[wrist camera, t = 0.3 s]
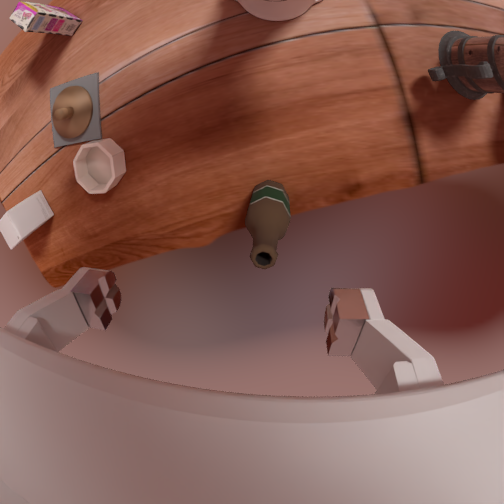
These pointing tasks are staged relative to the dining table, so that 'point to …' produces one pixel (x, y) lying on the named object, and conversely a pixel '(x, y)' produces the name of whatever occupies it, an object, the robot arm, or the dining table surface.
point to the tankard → (471, 64)
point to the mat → (95, 125)
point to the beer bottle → (267, 221)
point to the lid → (72, 111)
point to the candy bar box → (44, 19)
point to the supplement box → (25, 219)
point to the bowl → (99, 165)
